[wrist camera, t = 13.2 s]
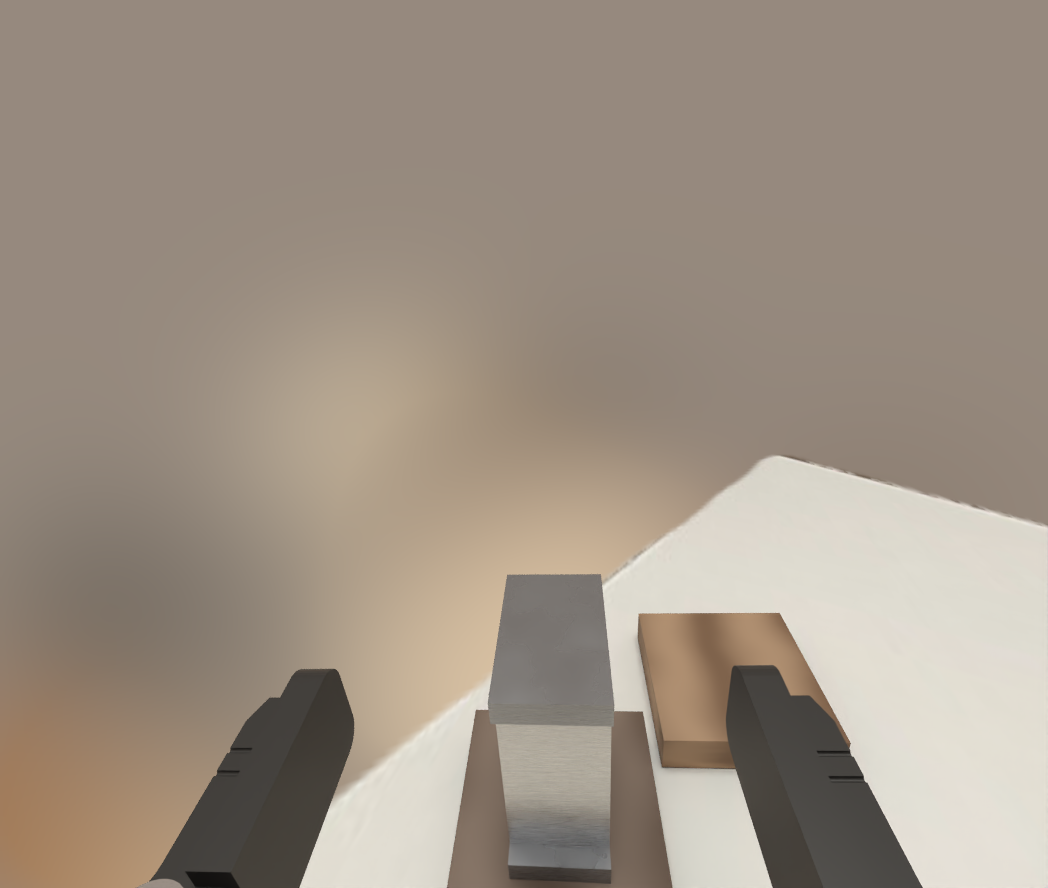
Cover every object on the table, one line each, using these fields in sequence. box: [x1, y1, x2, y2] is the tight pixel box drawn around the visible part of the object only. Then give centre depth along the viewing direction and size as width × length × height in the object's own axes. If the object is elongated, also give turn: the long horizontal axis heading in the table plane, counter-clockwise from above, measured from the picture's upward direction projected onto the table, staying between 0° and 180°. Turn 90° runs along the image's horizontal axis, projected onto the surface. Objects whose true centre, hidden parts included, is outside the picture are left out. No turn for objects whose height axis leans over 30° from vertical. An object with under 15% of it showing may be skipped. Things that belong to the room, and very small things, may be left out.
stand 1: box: [447, 710, 672, 888], centre depth 30 cm, size 11×11×2 cm
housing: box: [488, 574, 614, 884], centre depth 27 cm, size 5×8×12 cm, turn 176°
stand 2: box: [638, 613, 851, 768], centre depth 37 cm, size 11×11×2 cm
